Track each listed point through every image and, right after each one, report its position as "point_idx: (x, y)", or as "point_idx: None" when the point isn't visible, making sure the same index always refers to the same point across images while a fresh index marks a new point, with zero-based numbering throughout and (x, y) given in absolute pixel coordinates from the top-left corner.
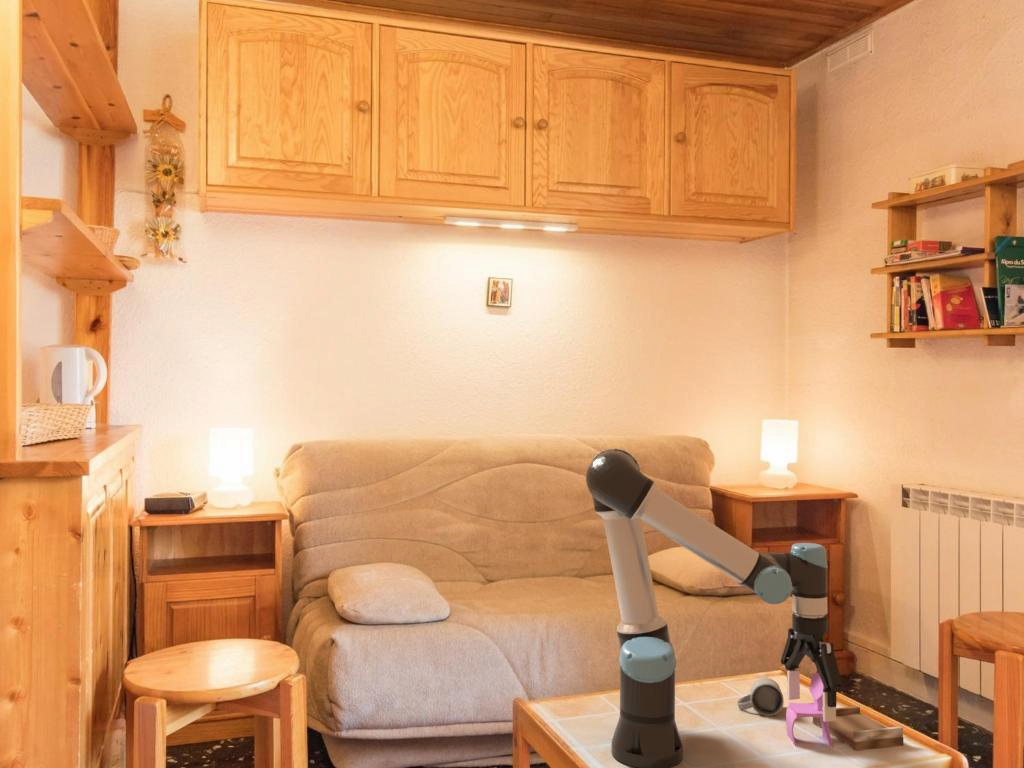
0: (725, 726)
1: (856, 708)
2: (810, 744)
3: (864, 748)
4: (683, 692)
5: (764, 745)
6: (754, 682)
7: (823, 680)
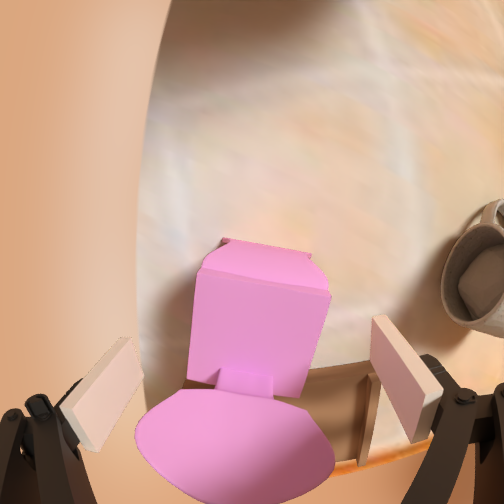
0: (397, 92)
1: (358, 460)
2: None
3: None
4: None
5: (241, 143)
6: None
7: (44, 443)
